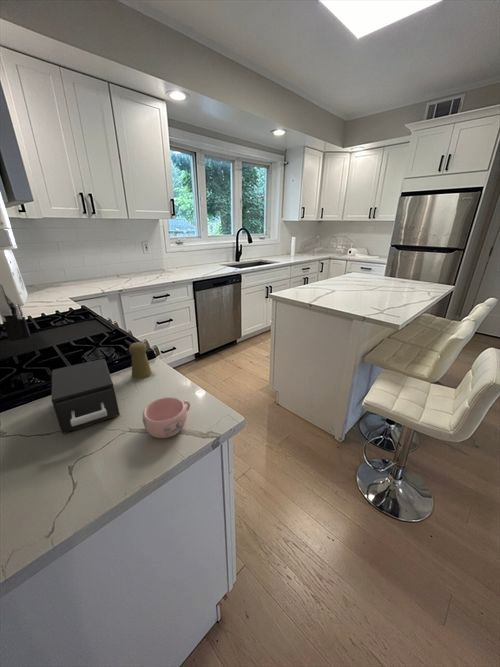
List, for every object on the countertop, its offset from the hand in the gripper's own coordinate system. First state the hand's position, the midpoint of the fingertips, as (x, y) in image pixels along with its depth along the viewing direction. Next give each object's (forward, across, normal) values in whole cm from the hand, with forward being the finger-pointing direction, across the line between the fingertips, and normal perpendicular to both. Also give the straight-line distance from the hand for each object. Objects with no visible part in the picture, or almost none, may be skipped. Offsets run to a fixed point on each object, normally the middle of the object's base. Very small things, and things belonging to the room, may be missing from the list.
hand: (20, 338), depth 55 cm
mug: (+25, -11, -24) cm, 37 cm away
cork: (+25, +18, -24) cm, 39 cm away
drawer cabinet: (+25, +8, -8) cm, 28 cm away
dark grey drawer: (+24, +4, -8) cm, 26 cm away
